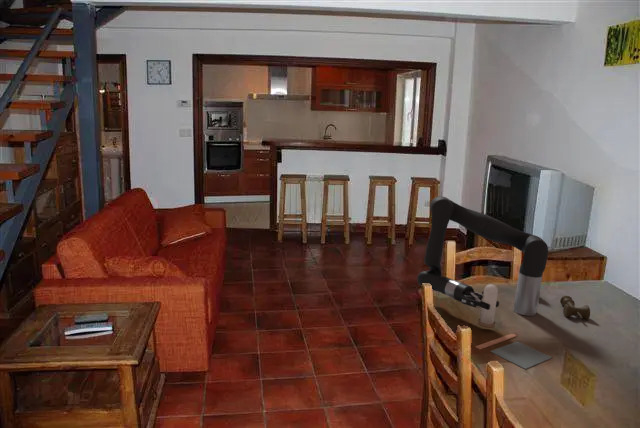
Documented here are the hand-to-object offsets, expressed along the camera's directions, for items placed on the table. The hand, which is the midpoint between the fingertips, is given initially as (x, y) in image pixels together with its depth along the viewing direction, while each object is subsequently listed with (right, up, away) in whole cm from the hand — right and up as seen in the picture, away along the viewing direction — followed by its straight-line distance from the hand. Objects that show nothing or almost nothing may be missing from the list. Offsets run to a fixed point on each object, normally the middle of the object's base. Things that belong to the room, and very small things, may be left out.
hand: (493, 305), depth 201 cm
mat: (+5, -15, -15) cm, 22 cm away
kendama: (+43, -8, +26) cm, 50 cm away
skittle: (-2, -8, +4) cm, 9 cm away
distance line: (-1, -12, -6) cm, 14 cm away
